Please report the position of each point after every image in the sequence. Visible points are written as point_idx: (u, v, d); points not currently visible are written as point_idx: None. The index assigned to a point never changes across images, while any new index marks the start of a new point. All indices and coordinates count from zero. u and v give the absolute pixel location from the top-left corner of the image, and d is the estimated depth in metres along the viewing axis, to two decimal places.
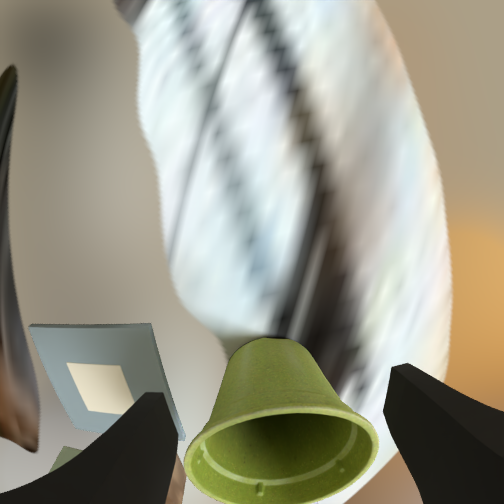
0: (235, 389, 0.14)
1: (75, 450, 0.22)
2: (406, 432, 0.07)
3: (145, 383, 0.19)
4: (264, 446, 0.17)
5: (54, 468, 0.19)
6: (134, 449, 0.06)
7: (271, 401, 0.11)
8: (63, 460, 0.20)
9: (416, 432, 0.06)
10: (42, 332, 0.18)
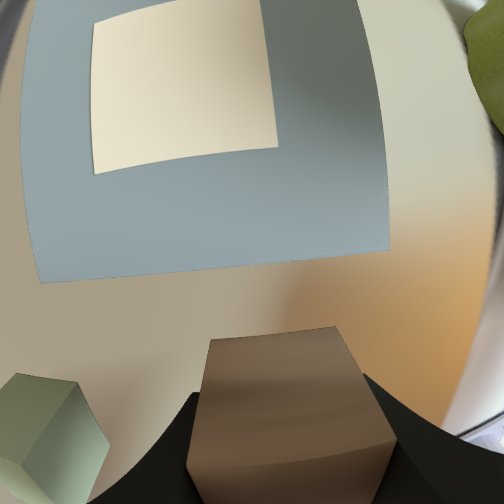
0: None
1: (38, 380, 0.10)
2: None
3: (318, 32, 0.07)
4: None
5: None
6: None
7: None
8: (6, 401, 0.08)
9: None
10: None
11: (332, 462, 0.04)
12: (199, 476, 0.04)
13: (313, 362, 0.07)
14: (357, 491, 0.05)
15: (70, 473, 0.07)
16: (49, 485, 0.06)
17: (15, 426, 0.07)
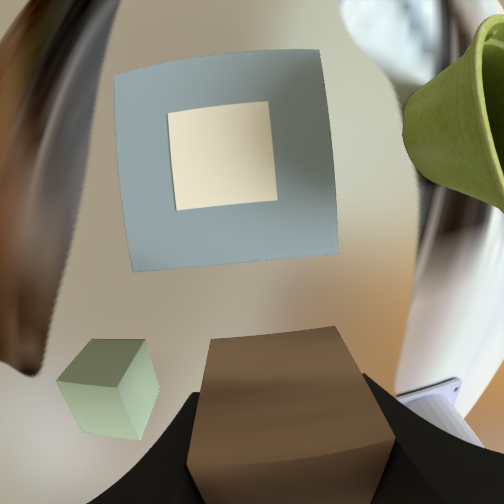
0: (459, 60, 0.09)
1: (113, 341, 0.17)
2: None
3: (301, 130, 0.14)
4: None
5: (71, 368, 0.14)
6: None
7: None
8: (91, 355, 0.15)
9: None
10: (138, 76, 0.13)
11: (331, 461, 0.05)
12: (199, 474, 0.05)
13: (312, 361, 0.08)
14: (356, 489, 0.05)
15: (139, 401, 0.14)
16: (129, 405, 0.13)
17: (105, 368, 0.14)
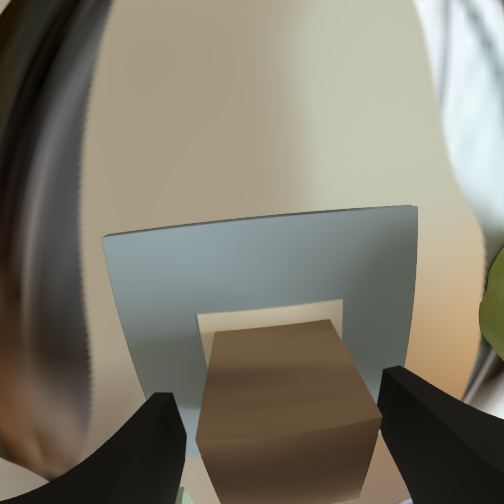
0: None
1: None
2: (397, 435, 0.07)
3: (378, 331, 0.10)
4: None
5: None
6: (145, 450, 0.06)
7: None
8: None
9: (407, 435, 0.06)
10: (141, 246, 0.10)
11: (325, 437, 0.05)
12: (206, 450, 0.05)
13: (308, 350, 0.08)
14: (349, 468, 0.06)
15: None
16: None
17: None
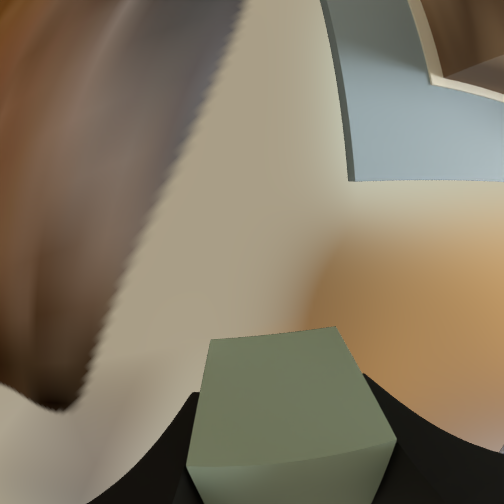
0: None
1: (268, 339, 0.09)
2: None
3: None
4: None
5: (212, 420, 0.06)
6: None
7: None
8: (241, 377, 0.07)
9: None
10: None
11: None
12: None
13: None
14: None
15: None
16: None
17: (312, 401, 0.06)
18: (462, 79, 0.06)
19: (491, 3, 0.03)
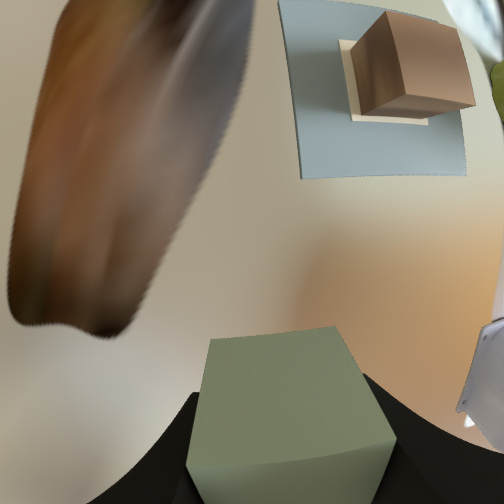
0: None
1: (268, 338, 0.09)
2: None
3: None
4: None
5: (212, 419, 0.06)
6: None
7: None
8: (241, 377, 0.07)
9: None
10: (305, 5, 0.12)
11: (437, 27, 0.08)
12: (391, 18, 0.08)
13: None
14: (458, 61, 0.09)
15: None
16: None
17: (312, 401, 0.06)
18: (374, 115, 0.14)
19: (381, 72, 0.11)
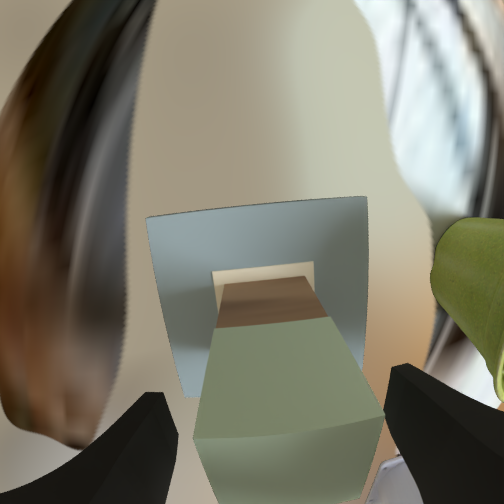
0: (503, 236, 0.10)
1: (267, 327, 0.10)
2: (406, 432, 0.07)
3: (342, 287, 0.15)
4: None
5: (217, 398, 0.06)
6: (134, 449, 0.06)
7: None
8: (243, 361, 0.08)
9: (416, 432, 0.06)
10: (174, 224, 0.14)
11: None
12: None
13: (287, 291, 0.13)
14: None
15: None
16: None
17: (308, 381, 0.07)
18: None
19: None
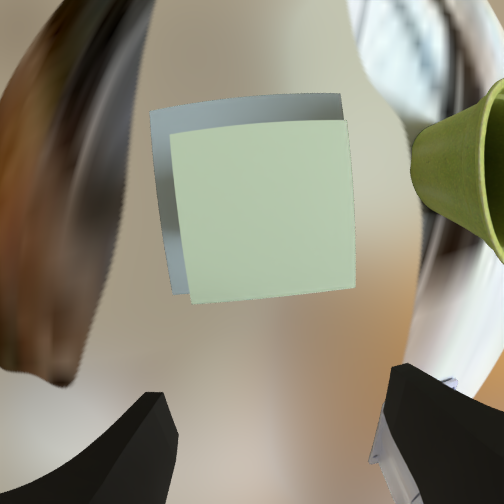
0: (466, 112, 0.11)
1: None
2: (406, 432, 0.07)
3: None
4: None
5: None
6: (134, 449, 0.06)
7: None
8: None
9: (416, 432, 0.06)
10: (174, 114, 0.15)
11: None
12: None
13: None
14: None
15: None
16: None
17: None
18: None
19: None
